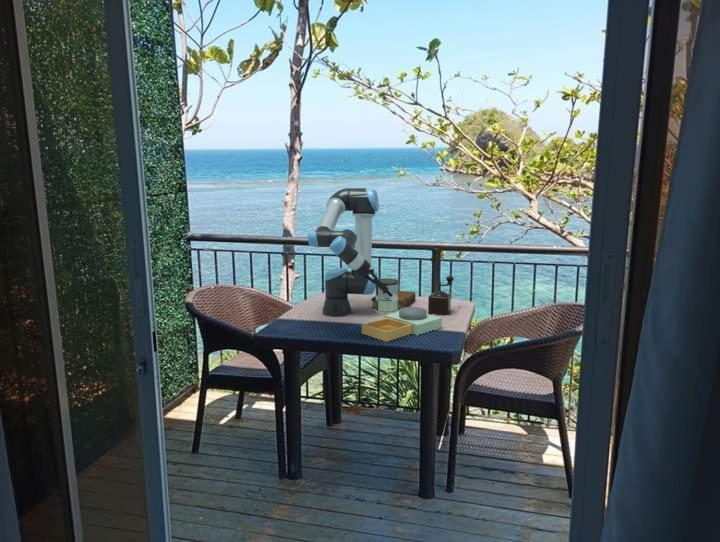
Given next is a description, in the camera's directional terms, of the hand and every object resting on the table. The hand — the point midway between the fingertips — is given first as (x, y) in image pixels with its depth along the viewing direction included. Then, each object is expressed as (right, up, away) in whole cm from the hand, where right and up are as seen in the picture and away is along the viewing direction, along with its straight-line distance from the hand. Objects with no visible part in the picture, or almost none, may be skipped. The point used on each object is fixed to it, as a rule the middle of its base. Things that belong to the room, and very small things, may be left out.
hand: (393, 297), depth 261 cm
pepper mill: (+27, -9, +41) cm, 50 cm away
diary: (+4, -7, +56) cm, 56 cm away
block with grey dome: (+10, -15, +14) cm, 23 cm away
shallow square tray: (-3, -17, +3) cm, 17 cm away
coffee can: (-3, -6, +1) cm, 7 cm away
